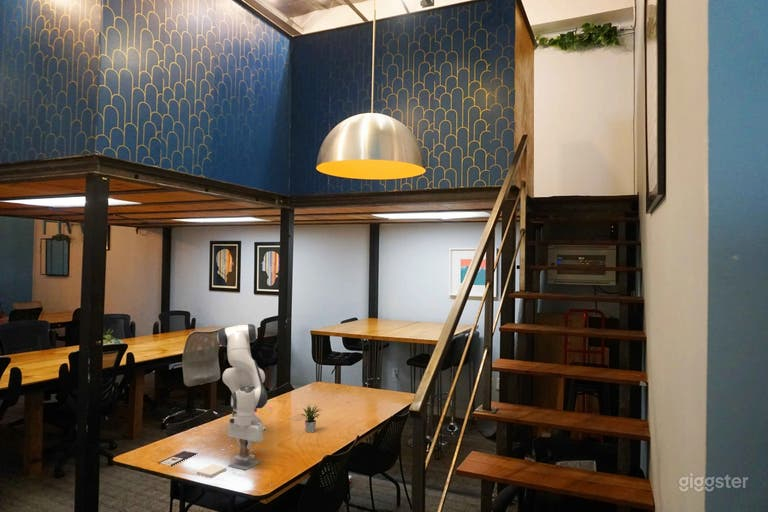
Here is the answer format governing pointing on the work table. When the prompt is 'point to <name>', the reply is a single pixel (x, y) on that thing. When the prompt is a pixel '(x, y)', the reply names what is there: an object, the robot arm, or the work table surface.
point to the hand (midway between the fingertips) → (244, 448)
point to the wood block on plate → (244, 451)
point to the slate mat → (244, 464)
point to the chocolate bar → (177, 458)
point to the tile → (211, 471)
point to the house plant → (310, 418)
